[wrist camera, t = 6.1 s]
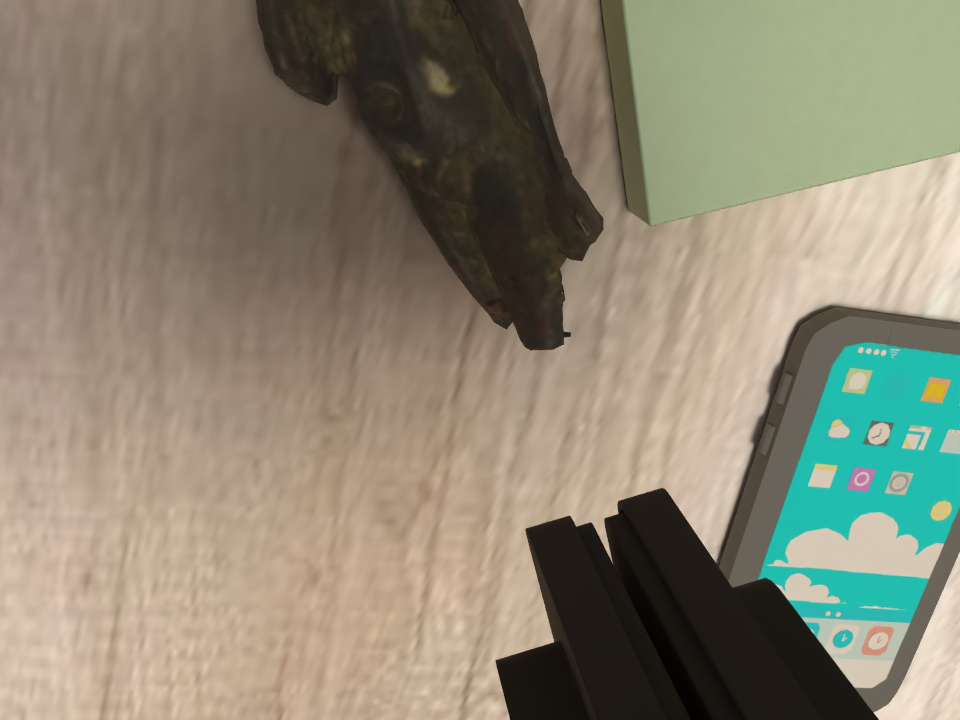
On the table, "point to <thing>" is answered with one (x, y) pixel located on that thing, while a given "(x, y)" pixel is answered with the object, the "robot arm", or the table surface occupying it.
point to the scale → (776, 95)
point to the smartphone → (858, 489)
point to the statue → (454, 136)
